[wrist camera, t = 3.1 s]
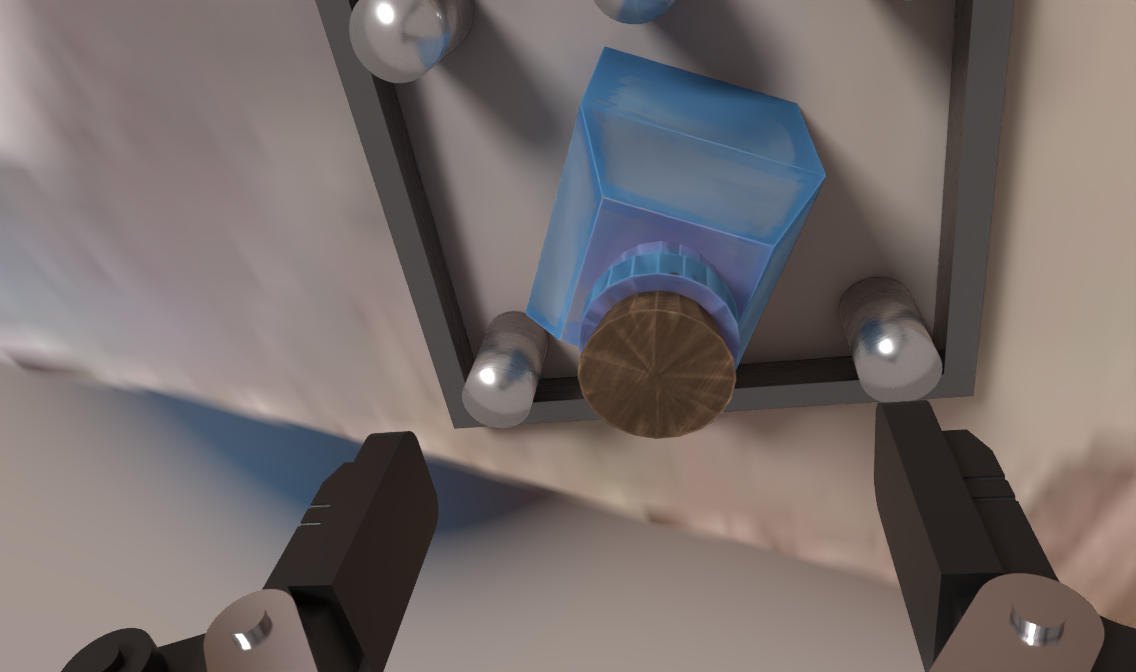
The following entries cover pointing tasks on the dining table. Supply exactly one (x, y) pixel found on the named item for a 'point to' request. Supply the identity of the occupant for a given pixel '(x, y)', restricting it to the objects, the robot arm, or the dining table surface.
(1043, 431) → the dining table surface
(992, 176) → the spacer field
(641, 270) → the perfume bottle
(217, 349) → the dining table surface
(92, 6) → the dining table surface
